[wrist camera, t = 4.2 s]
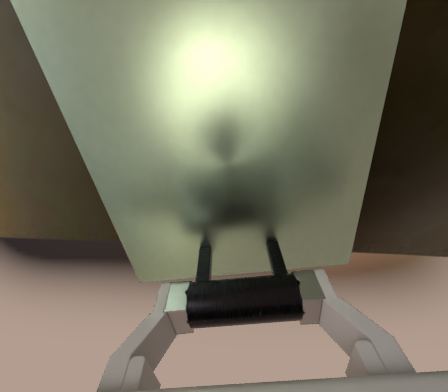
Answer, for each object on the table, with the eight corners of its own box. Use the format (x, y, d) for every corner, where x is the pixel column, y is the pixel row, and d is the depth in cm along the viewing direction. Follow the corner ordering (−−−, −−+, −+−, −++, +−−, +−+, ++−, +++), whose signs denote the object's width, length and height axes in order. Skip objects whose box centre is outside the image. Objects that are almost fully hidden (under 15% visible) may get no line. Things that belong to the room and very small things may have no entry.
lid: (343, 255, 15) (395, 338, 11) (143, 273, 16) (111, 358, 11) (413, -97, 7) (732, -366, 3) (11, -29, 8) (-263, -148, 4)
